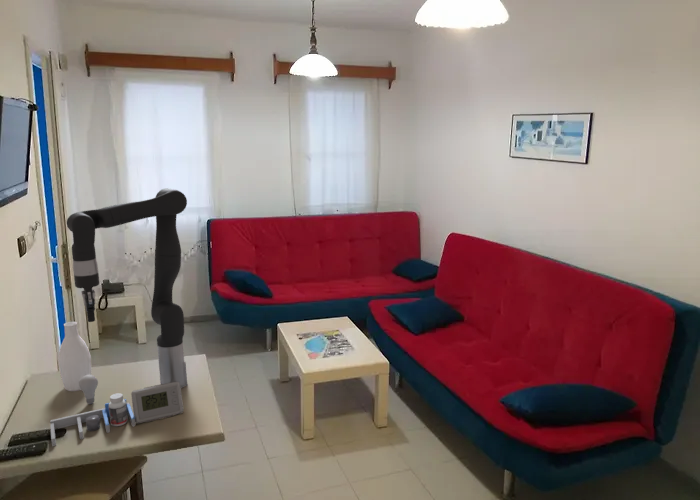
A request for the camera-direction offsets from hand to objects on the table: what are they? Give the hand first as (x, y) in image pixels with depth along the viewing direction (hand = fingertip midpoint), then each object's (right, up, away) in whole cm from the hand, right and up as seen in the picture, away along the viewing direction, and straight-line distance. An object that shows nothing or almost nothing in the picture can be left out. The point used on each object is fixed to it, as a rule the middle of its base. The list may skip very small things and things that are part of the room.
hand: (91, 321), depth 188 cm
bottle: (-16, -28, +23) cm, 39 cm away
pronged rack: (+4, -34, -7) cm, 35 cm away
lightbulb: (-4, -31, +9) cm, 33 cm away
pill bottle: (+11, -34, -4) cm, 36 cm away
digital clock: (+23, -33, 0) cm, 40 cm away
